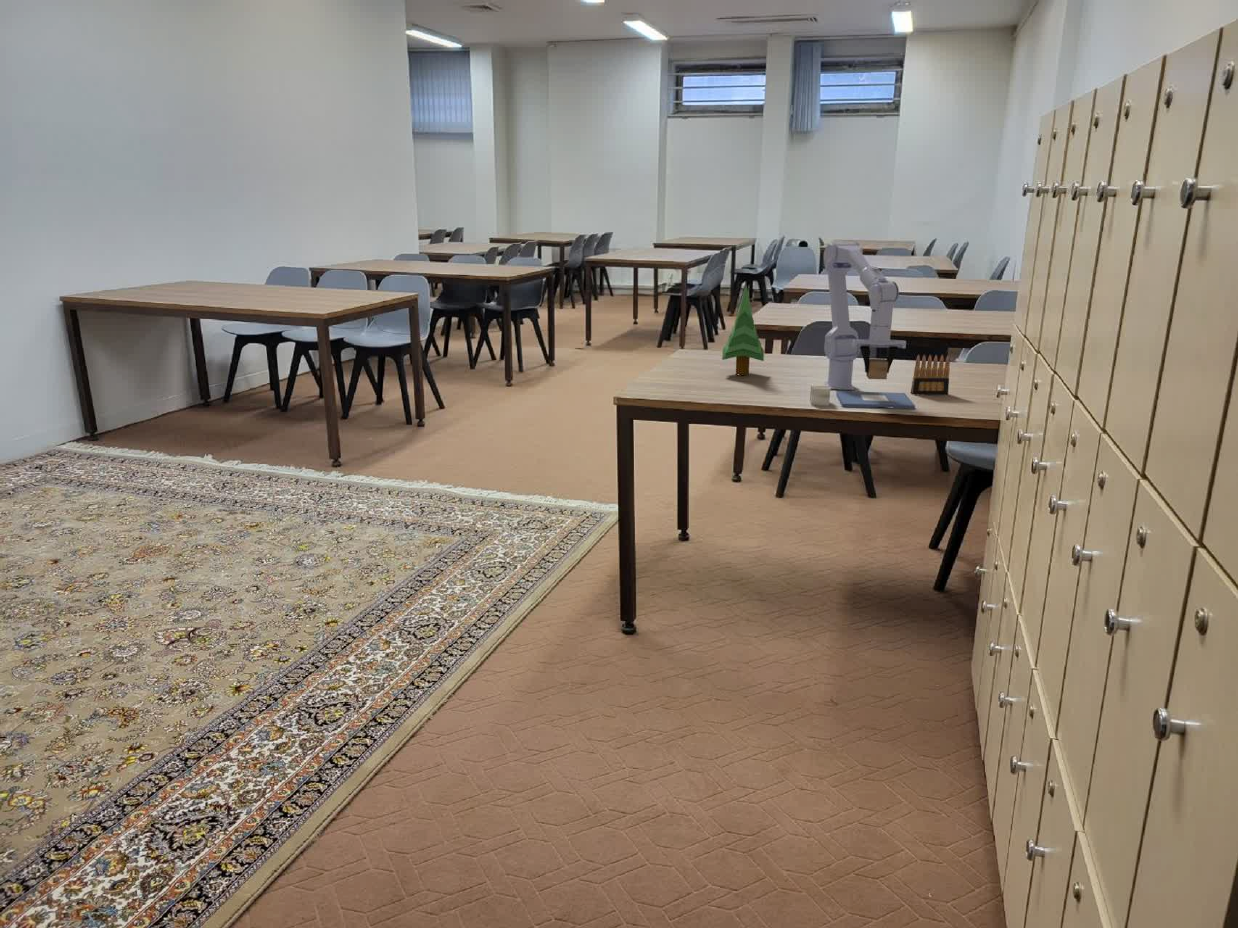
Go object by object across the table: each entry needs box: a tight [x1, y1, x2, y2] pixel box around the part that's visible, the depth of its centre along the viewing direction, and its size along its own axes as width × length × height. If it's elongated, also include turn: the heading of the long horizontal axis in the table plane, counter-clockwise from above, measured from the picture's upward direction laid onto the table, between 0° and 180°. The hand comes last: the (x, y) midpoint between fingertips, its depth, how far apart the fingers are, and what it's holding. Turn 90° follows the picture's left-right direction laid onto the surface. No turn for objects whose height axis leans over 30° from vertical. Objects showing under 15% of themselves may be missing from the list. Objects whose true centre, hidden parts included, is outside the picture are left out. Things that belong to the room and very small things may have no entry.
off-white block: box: [809, 384, 831, 406], centre depth 254 cm, size 5×5×5 cm
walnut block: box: [865, 358, 888, 380], centre depth 253 cm, size 5×5×5 cm
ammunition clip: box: [910, 354, 951, 396], centre depth 264 cm, size 11×2×12 cm, turn 88°
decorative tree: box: [721, 284, 765, 375], centre depth 289 cm, size 14×16×30 cm
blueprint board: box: [835, 390, 916, 410], centre depth 256 cm, size 16×20×1 cm
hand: (876, 372), depth 254 cm, fingers closed on walnut block, 5 cm apart
